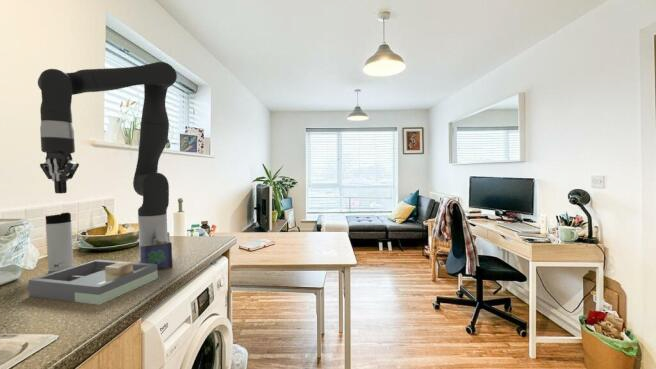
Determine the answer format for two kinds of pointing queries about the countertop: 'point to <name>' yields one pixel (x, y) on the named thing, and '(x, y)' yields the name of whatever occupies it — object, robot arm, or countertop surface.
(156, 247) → the flask
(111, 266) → the maple cube
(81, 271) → the tray
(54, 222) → the travel mug
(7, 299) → the countertop surface
